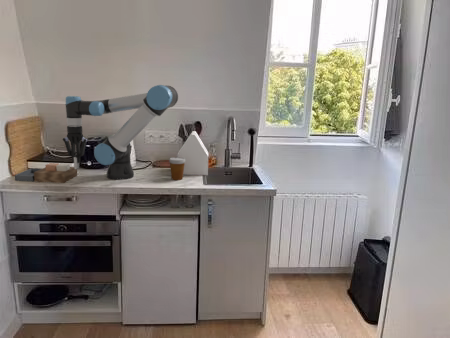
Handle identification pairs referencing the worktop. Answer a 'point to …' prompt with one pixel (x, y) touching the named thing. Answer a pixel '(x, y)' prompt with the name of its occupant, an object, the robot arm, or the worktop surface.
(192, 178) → the worktop surface
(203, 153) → the white house model
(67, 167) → the cream tile
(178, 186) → the worktop surface
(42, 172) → the walnut board
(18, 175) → the tray
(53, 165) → the terracotta tile
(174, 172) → the disposable coffee cup
